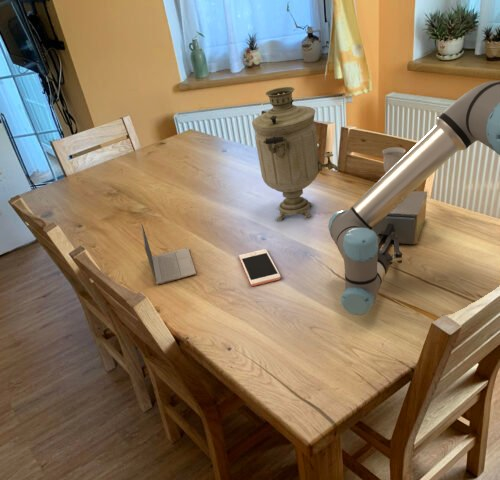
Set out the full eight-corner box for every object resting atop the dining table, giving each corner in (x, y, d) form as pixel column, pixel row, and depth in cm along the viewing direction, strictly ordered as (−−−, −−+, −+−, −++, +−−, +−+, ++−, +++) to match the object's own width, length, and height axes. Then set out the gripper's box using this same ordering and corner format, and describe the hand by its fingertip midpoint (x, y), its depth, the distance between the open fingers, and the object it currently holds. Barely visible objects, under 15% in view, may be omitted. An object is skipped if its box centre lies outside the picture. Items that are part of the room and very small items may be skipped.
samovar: (318, 237, 158) (309, 104, 133) (248, 229, 170) (227, 106, 145) (352, 198, 177) (349, 75, 152) (286, 193, 189) (274, 78, 164)
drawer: (412, 246, 144) (413, 221, 139) (369, 242, 149) (369, 218, 144) (421, 221, 154) (423, 197, 149) (381, 219, 159) (382, 196, 155)
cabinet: (415, 244, 146) (417, 214, 140) (369, 241, 151) (369, 212, 145) (425, 220, 156) (427, 191, 150) (381, 218, 162) (382, 190, 156)
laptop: (196, 275, 151) (186, 237, 143) (156, 285, 149) (144, 247, 141) (188, 249, 165) (179, 213, 157) (151, 258, 164) (140, 222, 156)
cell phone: (266, 251, 156) (265, 248, 155) (281, 279, 142) (281, 276, 141) (239, 257, 155) (238, 255, 154) (251, 286, 141) (251, 284, 140)
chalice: (407, 202, 168) (409, 148, 157) (396, 210, 165) (398, 156, 154) (388, 198, 172) (389, 146, 161) (377, 206, 169) (377, 153, 158)
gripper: (346, 280, 132) (368, 238, 148) (396, 286, 126) (413, 241, 142) (345, 256, 127) (368, 214, 143) (397, 260, 122) (415, 217, 138)
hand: (390, 228), depth 143 cm, fingers closed
